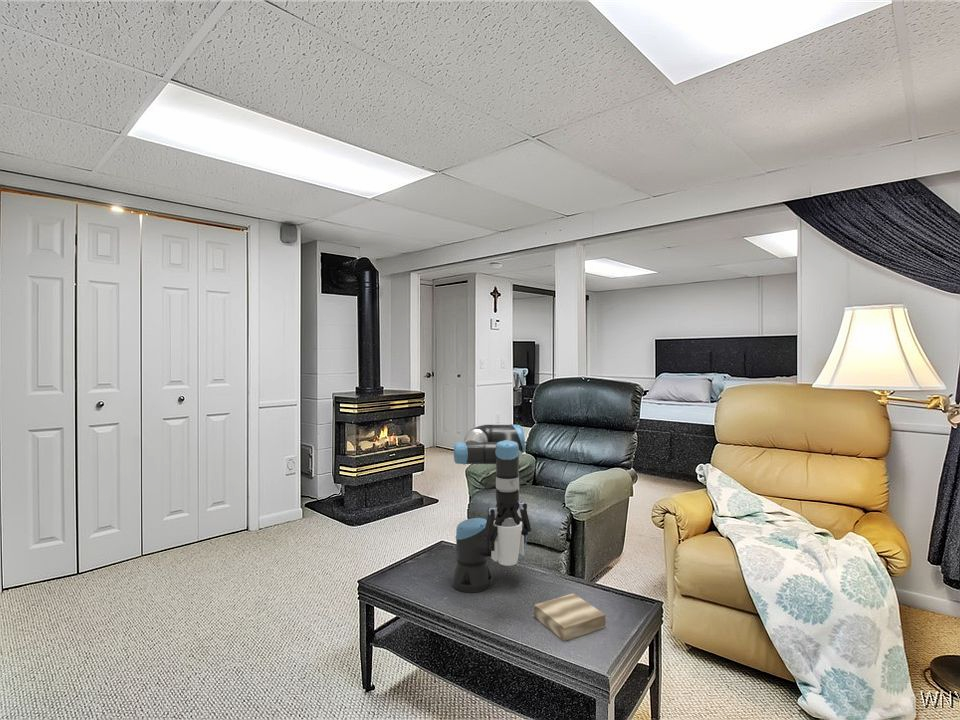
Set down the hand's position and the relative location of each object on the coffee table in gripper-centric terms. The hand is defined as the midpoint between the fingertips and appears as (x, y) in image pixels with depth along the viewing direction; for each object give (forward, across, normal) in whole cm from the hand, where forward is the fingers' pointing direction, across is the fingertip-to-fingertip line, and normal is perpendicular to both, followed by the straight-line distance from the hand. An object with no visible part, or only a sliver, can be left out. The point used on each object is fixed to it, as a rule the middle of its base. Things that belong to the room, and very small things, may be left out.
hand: (507, 556), depth 171 cm
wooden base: (+19, +15, -13) cm, 28 cm away
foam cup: (+2, 0, 0) cm, 2 cm away
